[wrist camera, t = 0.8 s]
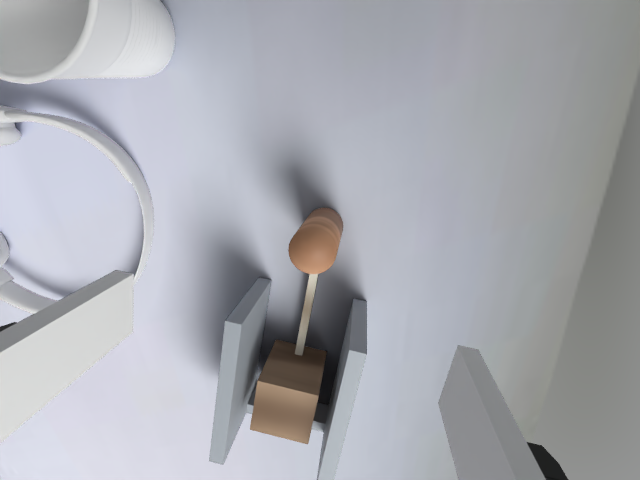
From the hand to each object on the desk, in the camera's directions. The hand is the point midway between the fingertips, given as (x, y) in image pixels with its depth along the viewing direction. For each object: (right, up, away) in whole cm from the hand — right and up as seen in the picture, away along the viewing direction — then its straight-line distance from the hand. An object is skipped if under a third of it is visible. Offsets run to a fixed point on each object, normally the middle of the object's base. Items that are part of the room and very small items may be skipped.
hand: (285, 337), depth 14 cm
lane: (-1, -7, +20) cm, 21 cm away
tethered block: (0, -2, +18) cm, 18 cm away
